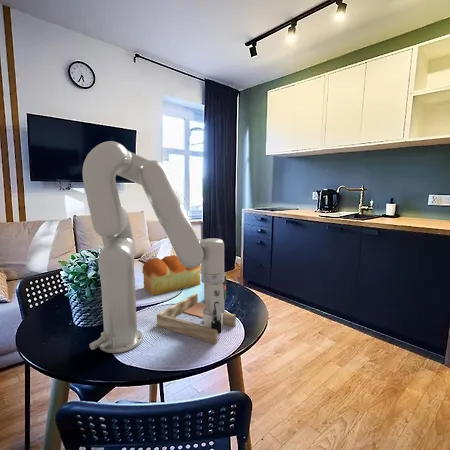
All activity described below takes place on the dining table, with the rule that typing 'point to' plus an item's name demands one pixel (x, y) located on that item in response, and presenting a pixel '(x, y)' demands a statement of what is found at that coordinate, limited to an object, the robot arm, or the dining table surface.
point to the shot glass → (209, 318)
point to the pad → (196, 310)
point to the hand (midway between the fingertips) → (213, 326)
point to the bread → (168, 275)
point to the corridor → (188, 328)
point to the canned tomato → (224, 286)
